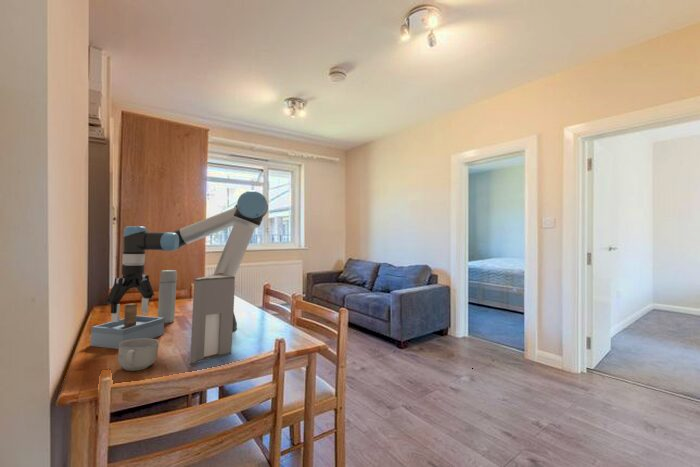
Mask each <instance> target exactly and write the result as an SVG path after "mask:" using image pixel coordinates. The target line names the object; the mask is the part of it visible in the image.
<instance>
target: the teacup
mask: <svg viewBox="0 0 700 467" xmlns="http://www.w3.org/2000/svg"><path fill="white" fill-rule="evenodd" d="M159 344H160V341H159V340H158V339H156V338H152V339H150V338H138V339H131V340H126V341H123V342H121V343H119V349H118V353H117V363H118V365H119V366H120V367H121V368H122V369H123V370H125V371H130V372H132V371H133V372H134V371H141V370H145V369H147V368H149V367H150V366H151V365H153V364H154V363H155V361H157V360H156V359H157V357H158V351H159Z"/></svg>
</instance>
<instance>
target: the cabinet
mask: <svg viewBox="0 0 700 467" xmlns="http://www.w3.org/2000/svg"><path fill="white" fill-rule="evenodd" d="M213 274H214V273H213ZM213 274H210V275H207V276H202V277H197V278H195V279H193V296H192V297H193V300H192V318H191V337H190V357H189V365H193V366H195V365H196V364H198V363H200V362H203V361H207V360H212V359H216V358H220V357H224V356H229V355H232V351H233V350H232V348H233V331H232V329H233V307H235V291H234V285H236V284H235V283H236V281H235V279H236V276H235V277H234V276H228V275H223V273H218V274H214V275H213Z"/></svg>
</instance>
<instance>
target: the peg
mask: <svg viewBox="0 0 700 467" xmlns="http://www.w3.org/2000/svg"><path fill="white" fill-rule="evenodd" d="M137 311H138V304H137V303H125V304H124V318H123V319H124V329H125V328H129V327H132V326H136V316H137V313H138V312H137Z"/></svg>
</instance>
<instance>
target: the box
mask: <svg viewBox="0 0 700 467" xmlns="http://www.w3.org/2000/svg"><path fill="white" fill-rule="evenodd" d="M164 329H165V323H164V318H160V317H158V316H146V315H137V316H136V326H132V327H129V328H125V329H124V318H119V322H112V321H109V322H106V323H105V322H104V323H101V324H97V325H93V326H91V327H90V341H89V343H90V347H98V348H99V347H100V348H107V349H108V348H109V349H116V350H119V343H121V342H123V341H126V340H131V339H138V338H150V339H156V338H157V337H159V336H163V335H164V332H165V330H164Z"/></svg>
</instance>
